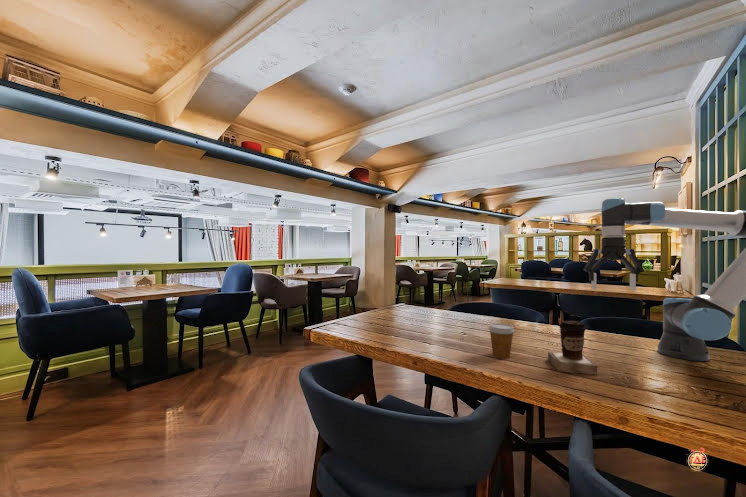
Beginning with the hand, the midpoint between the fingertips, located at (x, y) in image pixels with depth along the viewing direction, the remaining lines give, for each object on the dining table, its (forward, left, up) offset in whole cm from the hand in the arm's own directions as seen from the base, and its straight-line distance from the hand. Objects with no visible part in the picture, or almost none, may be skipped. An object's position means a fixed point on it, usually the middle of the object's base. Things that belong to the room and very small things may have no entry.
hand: (613, 289), depth 127 cm
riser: (+21, +18, -27) cm, 38 cm away
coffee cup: (+21, +18, -24) cm, 36 cm away
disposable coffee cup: (+44, +12, -27) cm, 53 cm away
